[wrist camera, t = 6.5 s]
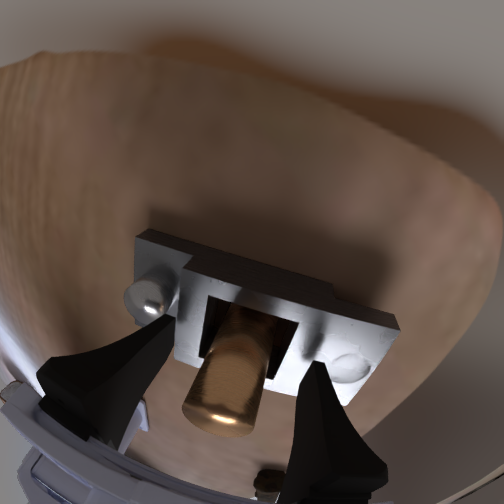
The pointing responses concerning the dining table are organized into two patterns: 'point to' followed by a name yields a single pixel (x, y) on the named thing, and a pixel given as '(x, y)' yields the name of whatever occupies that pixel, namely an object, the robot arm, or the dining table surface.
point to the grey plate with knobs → (261, 299)
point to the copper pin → (232, 374)
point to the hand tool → (268, 485)
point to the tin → (9, 390)
